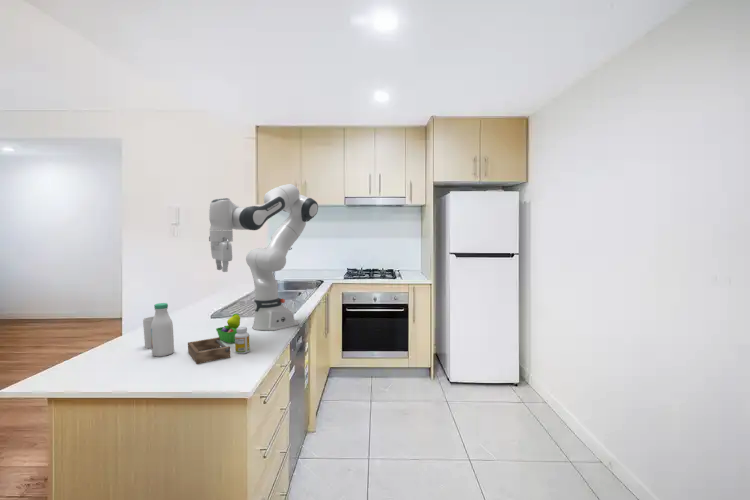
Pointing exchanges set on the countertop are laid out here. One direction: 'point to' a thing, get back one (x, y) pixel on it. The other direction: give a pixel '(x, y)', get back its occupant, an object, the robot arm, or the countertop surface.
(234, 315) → the fruit basket
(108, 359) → the countertop surface
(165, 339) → the milk bottle
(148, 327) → the mug
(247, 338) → the supplement bottle
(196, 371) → the countertop surface
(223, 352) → the wooden bar rack
